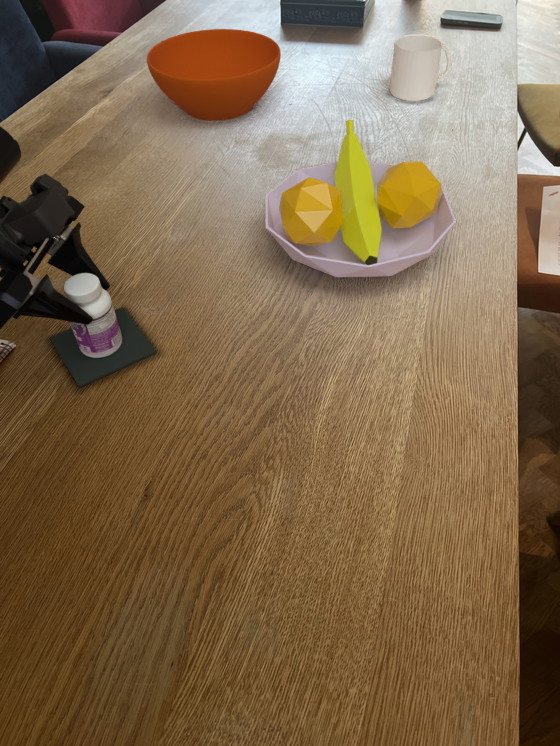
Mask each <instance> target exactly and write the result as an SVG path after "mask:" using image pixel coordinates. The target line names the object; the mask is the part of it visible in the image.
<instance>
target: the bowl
mask: <svg viewBox="0 0 560 746" xmlns="http://www.w3.org/2000/svg"><path fill="white" fill-rule="evenodd" d="M281 55H282V52H281V47H280V46H279V44H278V43H277V42H276V41H275V40H274V39H272V38H270V37H269V36H266V35H265V34H262V33H258V32H256V31H251V30H243V29H233V28H232V29H231V28H211V29H201V30H195V31H189V32H188V31H187V32H183V33H180V34H178V35H173V36H171V37H168V38H166V39H164V40H162V41H160V42H158V43H156V44H155V45H154V46H153V47H152V48H151V49H150V50H148V53H147V55H146V65H147V68H148V70H149V74H150V75H151V77H152V79H153V81H154V82H155V84H156V85H157V87H158V88H159V89H160V91H161V92H162V93H163V94H164V95H165V96H166V97H167V98H168V99H169V100H170V101H171V102H172V103H174V104H175V105H176V106H177V107H179V108H180V109H181V110H183V112H184V113H186V114H187V115H188V116H189V117H192V118H194V119H197V120H201V121H207V122H221V121H229V120H233V119H237V118H240V117H243V116H244V115H246V114H247V113H249V112H250V111H251V110H252V109H253V108H254V107H255V106H256V104H257V103H258V102H259V101H260V100H261V99H262V98H263V96H264V95H265V94H266V93H267V91H268V90H269V88H270V87H271V85H272V83H273V82H274V79H275V78H276V76H277V73H278V70H279V67H280V62H281V57H282V56H281Z"/></svg>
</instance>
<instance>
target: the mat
mask: <svg viewBox="0 0 560 746" xmlns="http://www.w3.org/2000/svg"><path fill="white" fill-rule="evenodd" d="M114 310H115V314H116V317H117V321H118V324H119V328H120V331H121V335H122V343H121V345H120V347H119V348H118V350H117V351H115V352H114V353H113V354H111V355H109V356H106V357H101V358H92V357H89V356H86V355H85V354H83V353H82V352H81V350H80V348H79V345H78V343H77V340H76V338H75V335H74V332H73V330H72V327H71V328H69V329H66V330H64V331H61V332H59V333H57V334H55V335H52V336H50V337H49V340H50V341H51V343H52V345H53V346H54V349H55V350H56V351H57V354H58V355H59V356H60V358H61V360H62V362H63V363H64V365H65V367H66V368H67V370H68V371H69V373H70V375H71V377H72V378H73V380H74V381H75V384H76V385H77V386H78V388H79V389H81V388H83V387H85V386H87V385H89V384H92V383H94V382H97V381H98V380H100V379H102V378H105V377H107V376H109V375H112V374H114V373H116V372H118V371H120V370H123V369H125V368H127V367H129V366H131V365H133V364H136V363H138V362H140V361H143V360H145V359H146V358H149V357H151V356H154V355H156V354H157V350H156V349H155V348H154V346H153V345H152V343H151V342H150V341H149V340H148V338H147V336H145V335H144V333H143V332H142V330H141V329H140V328H139V326H138V325H137V324H136V322H135V321H134V320H133V319H132V316H130V315H129V313H128V312H127V311H126V309H125V308H124V307H123V306H122V307H119V308H117V309H114Z"/></svg>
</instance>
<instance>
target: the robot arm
mask: <svg viewBox="0 0 560 746" xmlns="http://www.w3.org/2000/svg"><path fill="white" fill-rule="evenodd" d="M21 158H22V149H21V146H20V144H19V142H18V141H17V140H16V139H15V138H14V137H13V136H12V135H11V133H9V131H7V130H6V129H5V128H3V127H2V126H1V125H0V185H1V184H2V183H3V181H4V180H5V179H6V178H7V177H8V175H9V174H10V173H11V172H12V171H13V169H14V168H15V167H16V166H17V165H18V164H19V162H20V161H21ZM29 190H30V193H31V194H29V195H28V196H27V197H26V198H25V199H24V200H22V201H20V202H18V201H16V200H15V199H13V198H12V197H10V196H6V195H4V194H3V195H2V196H1V198H0V331H1V330H2V328H3V327H5V325H6V324H7V323H8V322H9V321H10V320H11V318H13V319H14V320H18V319H19V318H20V317H21V316H23V317H33V318H44V319H45V318H46V319H52V320H57V321H63V322H68V323H70V322H74V323H79V324H85V325H89V324H90V323H91V322H92V321H93V318H92V317H91V316H90V315H89V314H88V313H87V312H85V311H84V310H83V309H82V308H80V307H79V306H77V305H76V304H75V303H73V302H72V301H70V300H69V299H68V298H67V297H66V295H63V293H61V292H59V291H58V290H57V289H55V287H54V285H53V282H52V281H51V278H50V276H49V274H48V273H45V275H44V276H43V277H42V278H41V279H39V278H38V277H37V276H35V275H34V274H35V272H36V271H37V270H38V268H39V266H40V265H41V263H42V262H43V260H44V259H45V258H46V256H47V255H49V256H50V257H49V259H48V260H47V262H46V264H48V265H49V266H52V267H54V268H56V269H58V270H60V271H62V272H63V273H65V274H67V275H69V276H71V277H72V276H74V275H77V274H81V273H90V274H93V275H95V276H97V277H98V279H99V281H100V284H101V287H102V288H103V289H104V290H106V291H107V292H108V289H110V287H111V284H110V283H109V281H108V280H107V278H106V277H105V275H104V274H103V273H102V271H101V270H100V268H99V267H98V266H97V265H96V263H95V262H94V261H93V259H92V257H91V256H90V255H89V254H88V251H87V250H86V249H85V247H84V246H83V242H82V237H81V228H82V225H81V222H77V224H76V225H75V226H74V227H72V226H71V224H72V223H73V222H76V220H77V219H78V218H79V217H80V215H81V213H82V212H83V210H84V209H85V207H86V206H85V204H83V203H81V202H80V201H79V200H78V199H76V198H75V197H74V196H73V195H69V193H70V192H69V189H68V188H67V187H65V186H64V185H63V184H62V183H61V182H60V181H58V180H57V179H55V178H53V177H52V176H51V175H49V174H47V173H44V174H41V175H39V176H37V177H36V178H35V179H34V180H33V182H32V183H31V184H30V185H29ZM34 248H36V249H35V250H33V249H34ZM25 263H26V264H25ZM24 264H25V265H24Z"/></svg>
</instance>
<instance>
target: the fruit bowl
mask: <svg viewBox="0 0 560 746" xmlns="http://www.w3.org/2000/svg"><path fill="white" fill-rule="evenodd" d="M345 129H346V134H345V135H344V136H343V140H342V144H341V147H340V151H339V155H338V159H337V161H333V162H328V163H322V164H317V165H313V166H308V167H302V168H298V169H296V170H295V171H294V172H292V173H291V174H290V175H289V176H287V177H286V178H284V179H283V180H281V182H279V183H278V184H277V185H275V186H274V187H273V188H272V189H270V190H269V191H267V192H266V193H265V229H266V230H267V231H268V232H269V234H270V235H271V236H272V237H273V238H274V239H275V240H276V242H277V244H279V245H280V246H281V248H282V249H283V250H284V251H285V253H286V254H287V255H288V257H290V259H291V260H292V261H294V262H297V263H299V264H302V265H305V266H306V267H307V266H308V267H309V268H311V269H313V270H314V269H315V270H317V271H319V272H322V273H325V274H327V275H329V276H331V277H334V278H361V277H362V278H366V277H367V278H370V277H373V278H374V277H392V276H394V275H396V274H398V273H400V272H402V271H404V270H406V269H408V268H409V267H412V266H414V265H415V264H418V263H419V262H421V261H424V260H425V259H427V258H429V257H430V256H433V255H434V254H435V253H437V250H438V249H439V248H440V246H441V244H442V243H443V241H444V240H445V239H446V238H447V236H448V234H450V232H451V230H452V228H454V226H455V224H456V223H457V219H456V217H455V214H454V211H453V209H452V206H451V204H450V201H449V199H448V195H447V193H446V190H445V188H444V187H442V184H441V182H440V181H439V180H438V178H437V177H436V176H435V175H434V173H432V171H431V170H430V169H429V168H428V166H427V165H426V163H424V161H403V162H400V163H398V164H397V163H396V164H391V163H381V162H374V161H369V160H368V158H367V156H366V154H365V151H364V149H363V147H362V144H361V142H360V140H359V138H358V136H357V133H355V131H354V119H347V120H345Z"/></svg>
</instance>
